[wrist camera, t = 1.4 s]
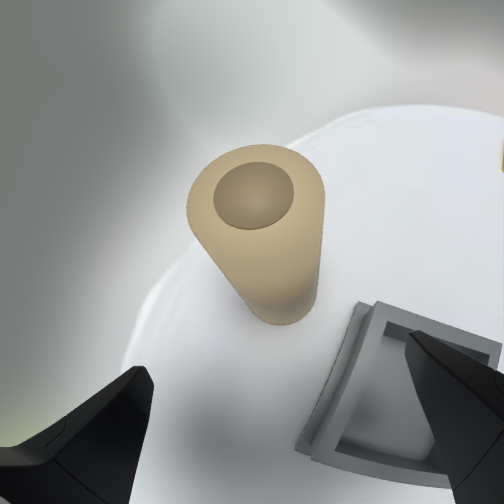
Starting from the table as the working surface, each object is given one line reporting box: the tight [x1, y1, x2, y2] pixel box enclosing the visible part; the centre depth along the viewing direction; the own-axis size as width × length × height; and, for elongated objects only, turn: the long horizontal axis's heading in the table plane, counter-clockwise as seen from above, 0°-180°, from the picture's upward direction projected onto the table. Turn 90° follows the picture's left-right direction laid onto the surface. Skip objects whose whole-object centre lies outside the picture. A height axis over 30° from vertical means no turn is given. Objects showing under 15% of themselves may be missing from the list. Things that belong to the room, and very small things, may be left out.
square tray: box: [295, 301, 502, 489], centre depth 15 cm, size 12×12×5 cm
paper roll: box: [186, 144, 325, 325], centre depth 17 cm, size 6×6×13 cm
